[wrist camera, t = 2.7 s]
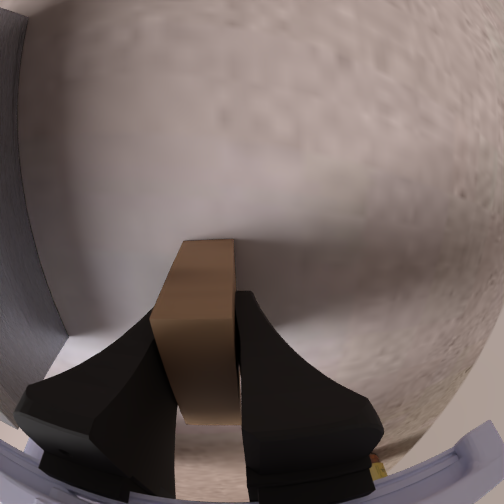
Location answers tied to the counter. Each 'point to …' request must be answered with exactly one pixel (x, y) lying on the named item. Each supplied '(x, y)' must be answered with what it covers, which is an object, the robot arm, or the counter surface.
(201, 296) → the brown block
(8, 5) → the counter surface
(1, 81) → the money box
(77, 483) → the robot arm
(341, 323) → the counter surface
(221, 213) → the counter surface
